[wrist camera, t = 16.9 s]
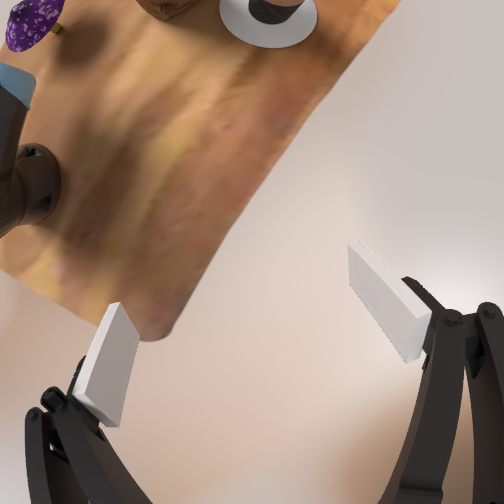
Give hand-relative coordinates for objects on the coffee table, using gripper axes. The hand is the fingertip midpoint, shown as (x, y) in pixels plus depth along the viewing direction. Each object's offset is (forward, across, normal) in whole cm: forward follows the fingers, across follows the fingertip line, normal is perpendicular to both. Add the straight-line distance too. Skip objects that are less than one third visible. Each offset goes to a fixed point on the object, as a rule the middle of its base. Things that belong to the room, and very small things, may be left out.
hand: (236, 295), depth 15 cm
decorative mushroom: (+32, -22, +39) cm, 55 cm away
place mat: (+32, +14, +28) cm, 45 cm away
